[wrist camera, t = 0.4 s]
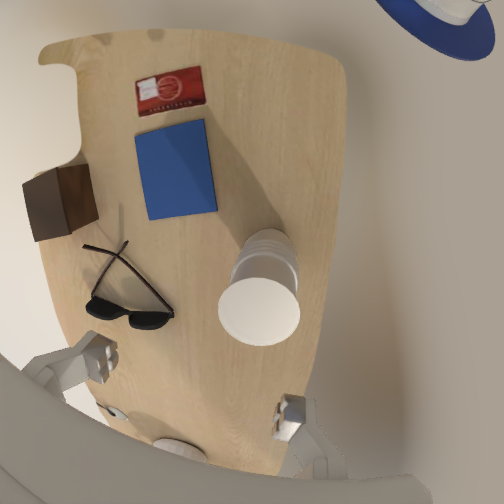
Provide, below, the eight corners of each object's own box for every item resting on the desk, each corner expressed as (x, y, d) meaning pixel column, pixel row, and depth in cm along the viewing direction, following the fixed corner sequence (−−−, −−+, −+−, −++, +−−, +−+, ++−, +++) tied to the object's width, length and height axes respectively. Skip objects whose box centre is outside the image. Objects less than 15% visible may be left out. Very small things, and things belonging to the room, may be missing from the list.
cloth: (135, 136, 32) (134, 136, 32) (204, 119, 31) (203, 118, 30) (150, 219, 36) (149, 220, 36) (217, 210, 35) (217, 211, 34)
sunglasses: (170, 235, 37) (154, 247, 32) (176, 320, 42) (165, 339, 37) (82, 227, 38) (62, 237, 34) (95, 302, 43) (80, 317, 39)
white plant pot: (178, 432, 56) (167, 462, 47) (221, 459, 60) (214, 487, 51) (136, 438, 63) (124, 462, 53) (174, 463, 66) (166, 486, 57)
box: (52, 176, 36) (21, 184, 29) (88, 161, 34) (55, 167, 27) (63, 228, 39) (34, 242, 32) (100, 220, 37) (69, 234, 30)
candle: (233, 253, 37) (201, 317, 23) (265, 213, 34) (249, 259, 20) (273, 283, 37) (264, 358, 23) (307, 246, 35) (318, 310, 21)
